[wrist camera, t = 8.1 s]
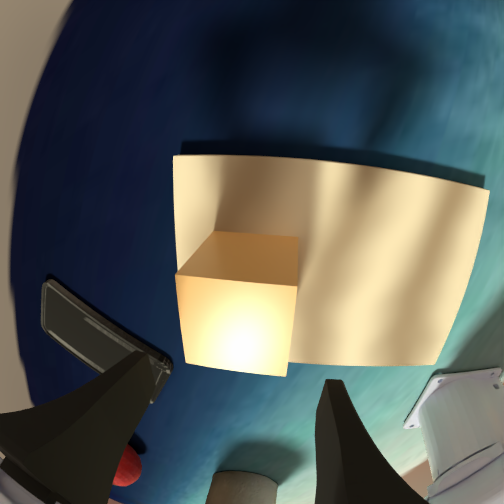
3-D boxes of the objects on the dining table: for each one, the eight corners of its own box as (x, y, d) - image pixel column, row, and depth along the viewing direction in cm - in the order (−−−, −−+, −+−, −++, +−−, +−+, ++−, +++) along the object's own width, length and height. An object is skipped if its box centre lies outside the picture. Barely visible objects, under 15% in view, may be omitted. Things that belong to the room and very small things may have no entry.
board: (481, 188, 14) (521, 203, 10) (430, 356, 20) (447, 394, 16) (179, 154, 17) (144, 161, 13) (190, 340, 22) (170, 378, 18)
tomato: (95, 418, 32) (70, 457, 24) (150, 446, 32) (130, 490, 24) (99, 441, 35) (79, 475, 28) (147, 465, 35) (130, 501, 28)
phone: (151, 406, 26) (41, 329, 25) (155, 398, 27) (46, 323, 26) (173, 368, 23) (42, 277, 22) (178, 359, 24) (49, 272, 23)
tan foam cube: (298, 237, 17) (297, 286, 11) (291, 310, 19) (285, 376, 13) (213, 230, 17) (175, 274, 12) (215, 302, 19) (186, 362, 14)
